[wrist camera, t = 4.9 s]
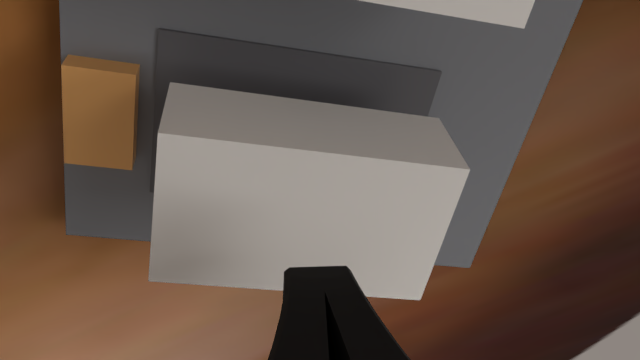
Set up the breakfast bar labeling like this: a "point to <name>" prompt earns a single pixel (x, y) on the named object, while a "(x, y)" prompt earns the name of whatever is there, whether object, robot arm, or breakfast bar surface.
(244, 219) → the button
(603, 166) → the breakfast bar surface
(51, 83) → the breakfast bar surface
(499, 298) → the breakfast bar surface
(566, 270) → the breakfast bar surface
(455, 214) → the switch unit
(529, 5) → the button
